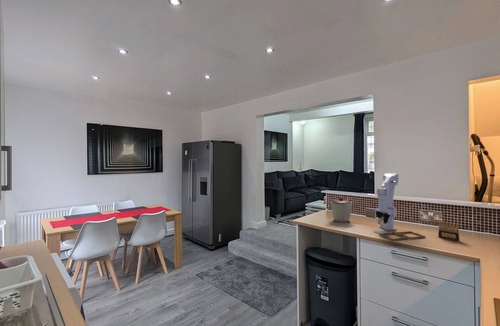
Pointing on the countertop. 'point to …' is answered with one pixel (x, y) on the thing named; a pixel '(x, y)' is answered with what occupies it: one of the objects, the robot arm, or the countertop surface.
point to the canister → (341, 209)
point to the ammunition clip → (444, 231)
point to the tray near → (394, 234)
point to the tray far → (412, 233)
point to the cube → (381, 221)
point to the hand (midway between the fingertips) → (382, 222)
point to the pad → (381, 232)
